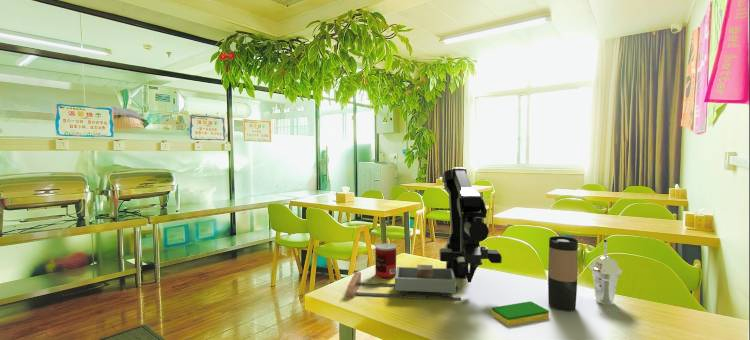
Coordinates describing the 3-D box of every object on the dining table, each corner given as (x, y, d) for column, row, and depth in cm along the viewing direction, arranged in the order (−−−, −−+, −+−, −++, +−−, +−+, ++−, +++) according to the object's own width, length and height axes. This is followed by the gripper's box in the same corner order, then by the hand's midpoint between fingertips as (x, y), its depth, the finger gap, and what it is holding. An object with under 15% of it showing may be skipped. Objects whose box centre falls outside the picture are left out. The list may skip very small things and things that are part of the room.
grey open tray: (452, 284, 122) (452, 268, 122) (455, 298, 110) (455, 280, 110) (397, 282, 124) (397, 266, 124) (394, 295, 112) (394, 278, 112)
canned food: (396, 272, 137) (396, 243, 137) (395, 279, 129) (395, 249, 129) (376, 271, 138) (376, 243, 138) (374, 278, 130) (374, 248, 130)
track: (457, 286, 122) (457, 276, 122) (461, 302, 109) (461, 290, 109) (355, 282, 126) (355, 272, 126) (348, 296, 114) (348, 285, 113)
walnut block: (432, 280, 119) (432, 265, 119) (432, 285, 114) (432, 269, 114) (417, 279, 120) (417, 264, 120) (416, 284, 115) (416, 269, 115)
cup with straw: (627, 303, 108) (629, 237, 107) (610, 310, 104) (612, 241, 103) (598, 294, 116) (599, 232, 115) (581, 299, 111) (582, 235, 110)
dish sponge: (490, 315, 101) (491, 307, 101) (530, 308, 106) (530, 300, 106) (508, 327, 95) (508, 318, 94) (549, 319, 99) (549, 310, 99)
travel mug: (573, 303, 109) (575, 237, 108) (579, 313, 102) (580, 243, 101) (546, 299, 111) (547, 235, 110) (549, 309, 104) (550, 241, 103)
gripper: (441, 238, 108) (441, 290, 108) (506, 240, 106) (505, 293, 106) (439, 230, 119) (438, 277, 119) (497, 232, 117) (497, 280, 117)
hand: (469, 282), depth 115 cm, fingers closed
